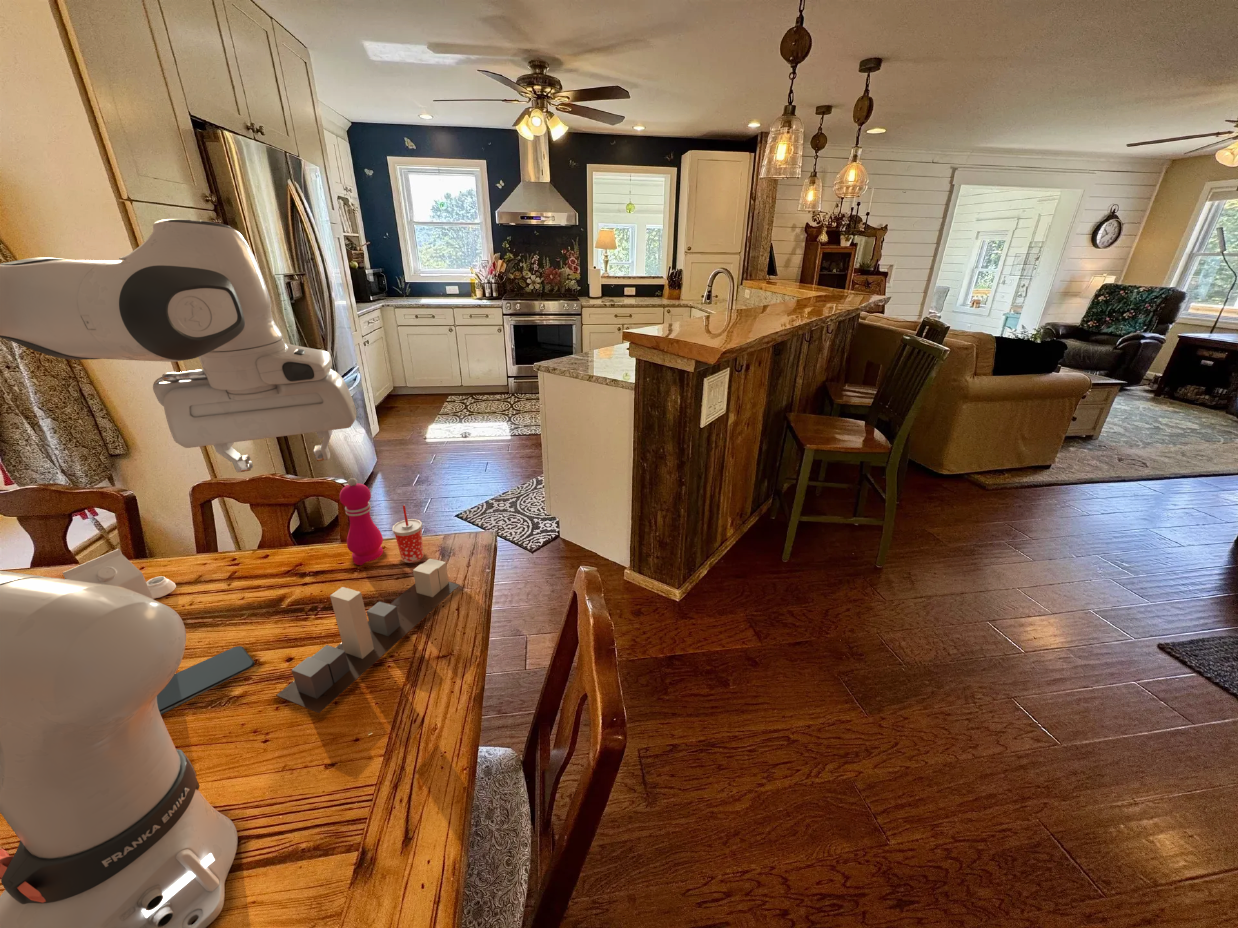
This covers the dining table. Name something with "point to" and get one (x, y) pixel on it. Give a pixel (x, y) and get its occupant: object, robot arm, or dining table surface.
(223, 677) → the smartphone
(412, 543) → the beverage cup
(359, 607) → the tall white block
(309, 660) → the dark grey block row
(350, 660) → the shelf plank
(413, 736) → the dining table surface
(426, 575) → the cream white block
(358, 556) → the pepper mill
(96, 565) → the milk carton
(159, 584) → the lidless jar
